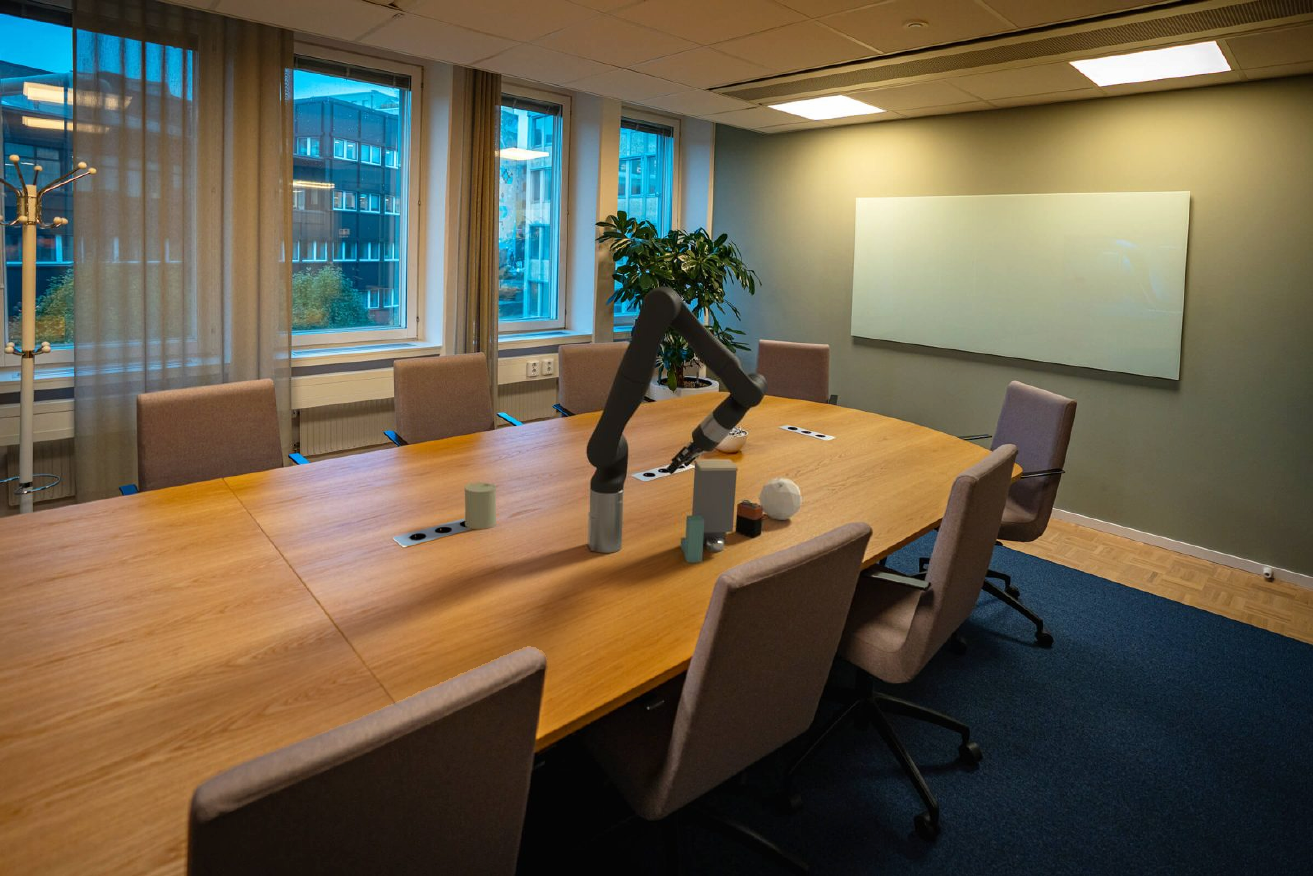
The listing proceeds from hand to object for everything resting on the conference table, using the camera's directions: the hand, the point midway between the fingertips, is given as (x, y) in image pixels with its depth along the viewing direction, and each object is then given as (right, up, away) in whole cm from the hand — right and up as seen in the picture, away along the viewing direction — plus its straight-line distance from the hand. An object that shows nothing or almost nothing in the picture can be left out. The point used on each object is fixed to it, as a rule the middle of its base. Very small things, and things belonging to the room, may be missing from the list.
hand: (676, 467), depth 223 cm
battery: (+22, -21, +18) cm, 35 cm away
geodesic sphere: (+33, -17, +33) cm, 50 cm away
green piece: (+4, -24, +1) cm, 24 cm away
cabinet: (+10, -23, +6) cm, 26 cm away
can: (-58, -18, +17) cm, 63 cm away
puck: (+11, -23, +6) cm, 26 cm away
